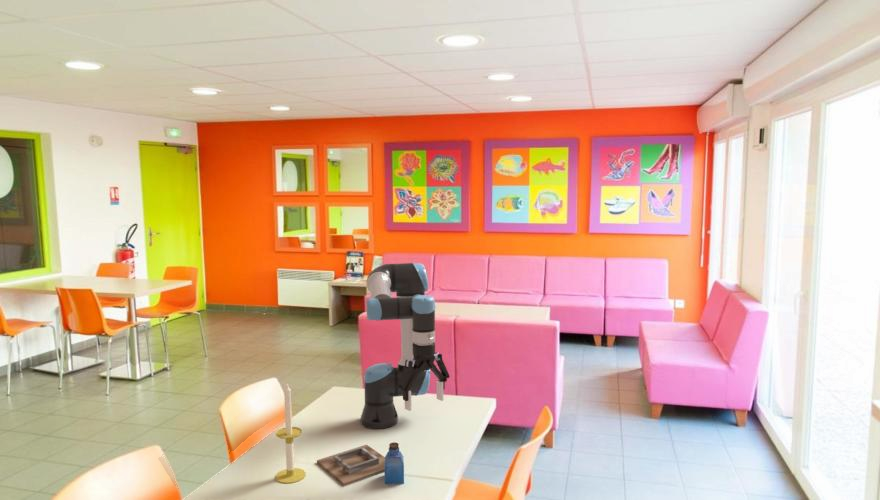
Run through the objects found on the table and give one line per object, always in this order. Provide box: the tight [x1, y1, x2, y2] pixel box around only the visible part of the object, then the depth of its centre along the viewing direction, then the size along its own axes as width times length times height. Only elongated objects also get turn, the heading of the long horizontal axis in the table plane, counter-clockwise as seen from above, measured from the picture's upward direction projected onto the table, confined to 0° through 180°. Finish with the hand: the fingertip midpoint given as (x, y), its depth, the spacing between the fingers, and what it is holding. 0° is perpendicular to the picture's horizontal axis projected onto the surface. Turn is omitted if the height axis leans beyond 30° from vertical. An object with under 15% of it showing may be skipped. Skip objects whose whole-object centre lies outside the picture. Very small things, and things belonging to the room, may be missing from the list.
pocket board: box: [316, 444, 385, 487], centre depth 204 cm, size 20×20×3 cm
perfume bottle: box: [384, 442, 405, 485], centre depth 194 cm, size 6×6×12 cm
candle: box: [274, 383, 307, 484], centre depth 195 cm, size 10×10×32 cm
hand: (424, 404), depth 197 cm, fingers open, 13 cm apart
